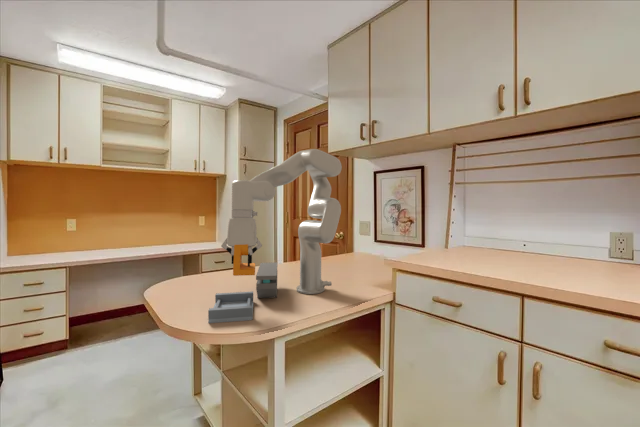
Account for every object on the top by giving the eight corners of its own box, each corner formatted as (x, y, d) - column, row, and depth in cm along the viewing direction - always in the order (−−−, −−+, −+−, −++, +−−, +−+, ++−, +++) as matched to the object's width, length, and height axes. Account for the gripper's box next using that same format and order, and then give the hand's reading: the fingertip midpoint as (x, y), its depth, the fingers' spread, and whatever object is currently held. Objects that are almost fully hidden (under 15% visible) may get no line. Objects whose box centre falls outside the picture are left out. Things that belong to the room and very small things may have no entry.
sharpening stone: (260, 285, 139) (260, 262, 138) (277, 285, 140) (277, 262, 139) (256, 303, 114) (256, 276, 113) (276, 303, 115) (276, 275, 114)
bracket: (254, 277, 101) (255, 242, 101) (232, 277, 99) (233, 242, 99) (255, 269, 111) (255, 238, 111) (235, 270, 110) (236, 238, 110)
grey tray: (253, 301, 116) (253, 291, 116) (252, 319, 98) (252, 307, 98) (216, 304, 113) (216, 293, 113) (208, 323, 95) (208, 310, 95)
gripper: (265, 214, 110) (265, 263, 111) (218, 214, 106) (218, 264, 107) (266, 215, 103) (266, 267, 103) (216, 215, 99) (215, 268, 99)
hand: (241, 265), depth 105 cm, fingers closed on bracket, 4 cm apart
